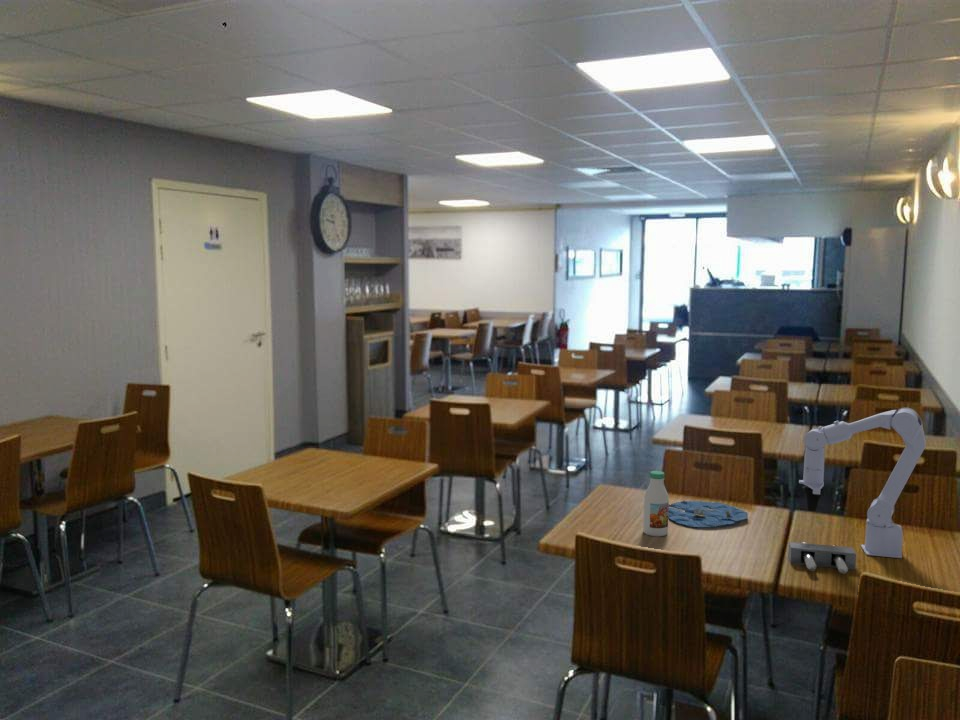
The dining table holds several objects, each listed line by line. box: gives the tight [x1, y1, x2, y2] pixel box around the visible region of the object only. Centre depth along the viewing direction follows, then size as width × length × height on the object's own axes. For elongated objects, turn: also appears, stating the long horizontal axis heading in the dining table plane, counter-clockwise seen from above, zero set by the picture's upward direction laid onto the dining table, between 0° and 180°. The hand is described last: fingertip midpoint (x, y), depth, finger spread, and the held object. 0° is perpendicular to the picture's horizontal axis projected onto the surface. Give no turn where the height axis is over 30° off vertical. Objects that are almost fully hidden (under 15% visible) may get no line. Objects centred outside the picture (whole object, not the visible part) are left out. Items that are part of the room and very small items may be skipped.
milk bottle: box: [642, 470, 670, 537], centre depth 238 cm, size 8×8×20 cm
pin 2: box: [830, 544, 849, 574], centre depth 210 cm, size 13×4×4 cm, turn 164°
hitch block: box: [787, 541, 857, 571], centre depth 214 cm, size 17×5×5 cm, turn 74°
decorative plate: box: [668, 500, 749, 529], centre depth 256 cm, size 30×30×5 cm
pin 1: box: [801, 541, 817, 572], centre depth 212 cm, size 13×4×4 cm, turn 165°
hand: (811, 510), depth 232 cm, fingers closed
